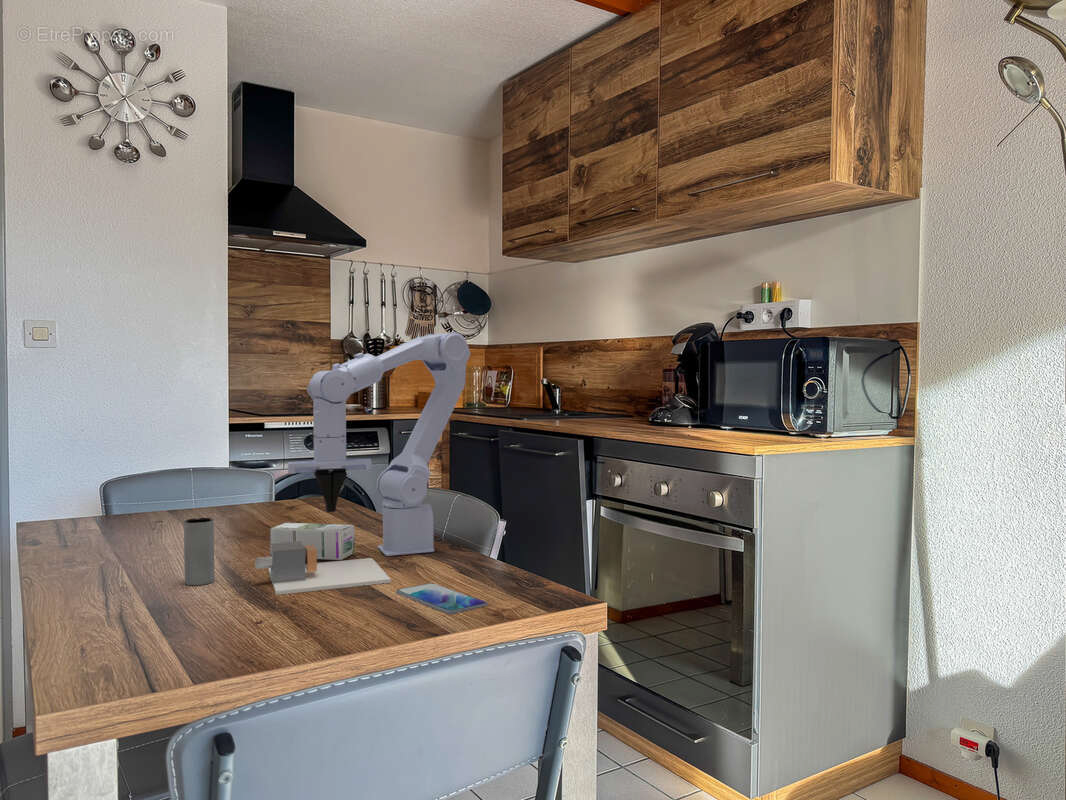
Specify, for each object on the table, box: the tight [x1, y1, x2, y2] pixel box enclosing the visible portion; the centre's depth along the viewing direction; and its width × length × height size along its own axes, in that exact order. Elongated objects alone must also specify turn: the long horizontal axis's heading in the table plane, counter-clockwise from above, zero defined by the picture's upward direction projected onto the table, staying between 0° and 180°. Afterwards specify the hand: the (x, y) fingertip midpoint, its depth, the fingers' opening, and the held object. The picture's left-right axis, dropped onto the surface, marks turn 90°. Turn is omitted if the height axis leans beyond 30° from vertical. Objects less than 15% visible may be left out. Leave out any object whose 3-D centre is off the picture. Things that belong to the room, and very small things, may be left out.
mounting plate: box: [268, 557, 392, 596], centre depth 131 cm, size 18×16×1 cm
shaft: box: [254, 545, 318, 572], centre depth 128 cm, size 10×4×4 cm, turn 113°
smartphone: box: [395, 582, 488, 615], centre depth 118 cm, size 7×1×15 cm
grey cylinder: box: [183, 517, 215, 586], centre depth 128 cm, size 4×4×10 cm
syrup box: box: [269, 522, 356, 561], centre depth 146 cm, size 6×6×14 cm
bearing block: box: [269, 541, 305, 583], centre depth 129 cm, size 5×6×5 cm
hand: (330, 511), depth 141 cm, fingers closed
